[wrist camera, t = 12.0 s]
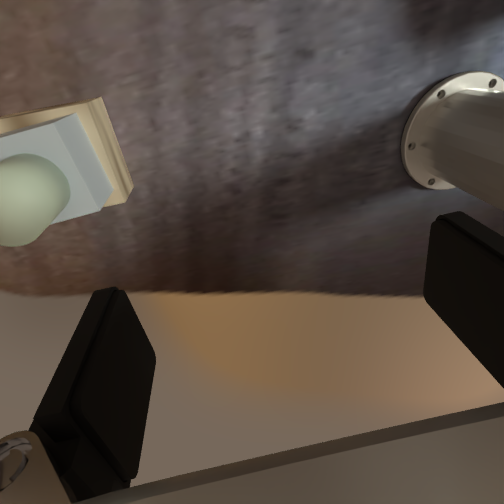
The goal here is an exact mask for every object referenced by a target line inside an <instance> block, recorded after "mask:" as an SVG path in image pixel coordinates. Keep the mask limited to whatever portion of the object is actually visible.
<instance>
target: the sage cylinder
mask: <svg viewBox="0 0 504 504" xmlns="http://www.w3.org/2000/svg"><path fill="white" fill-rule="evenodd" d="M69 200H70V186H69V183H68V180H67V178H66V176H65V175H64V173H63V172H62V171H61V170H60V169H59V168H58V167H57V166H56V165H55V164H54V163H52V162H51V161H49V160H48V159H46V158H44V157H41V156H38V155H35V154H29V153H21V154H16V155H13V156H10V157H8V158H6V159H4V160H3V161H1V162H0V245H2V246H9V247H16V246H22V245H26V244H29V243H31V242H33V241H34V240H35V239H37V238H38V236H39V235H40V234H41V233H42V232H43V231H44V230H45V229H46V228H47V227H48V226H49V224H50V223H51V222H52V221H53V220H54V219H55V218H56V217H57V216H58V215H59V214H60V212H61V211H62V210H63V209H64V208H65V207H66V206H67V204H68V202H69Z"/></svg>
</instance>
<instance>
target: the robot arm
mask: <svg viewBox="0 0 504 504" xmlns="http://www.w3.org/2000/svg"><path fill="white" fill-rule="evenodd" d="M437 94H438V95H437ZM401 158H402V162H403V165H404V168H405V170H406V171H407V173H408V175H409V176H410V177H411V178H412V179H413V180H414V181H416V182H417V183H419V184H421V185H422V186H425V187H427V188H430V189H436V190H447V189H451V188H456V187H458V188H459V189H461V190H463V191H465V192H467V193H469V194H471V195H473V196H475V197H477V198H479V199H481V200H483V201H485V202H487V203H489V204H490V205H492V206H494V207H496V208H498V209H500V210H502V211H504V80H503V79H502V78H501V77H499V76H497V75H495V74H493V73H490V72H483V71H467V72H462V73H458V74H455V75H453V76H451V77H448V78H446V79H445V80H443V81H442V82H440V83H438V84H437V85H435V86H434V87H433V88H432V89H431V90H430V91H429V92H427V93H426V94H425V95H424V97H423V98H422V99H421V100H420V101H419V102H418V104H417V105H416V107H415V108H414V110H413V111H412V113H411V115H410V116H409V119H408V121H407V123H406V125H405V128H404V132H403V136H402V141H401ZM423 294H424V298H425V300H426V302H427V303H428V304H429V306H430V307H431V308H432V309H433V310H434V311H435V312H436V313H437V315H438V316H439V317H440V318H441V319H442V320H443V321H444V322H445V323H446V324H447V326H448V327H449V328H450V329H451V330H452V331H453V332H454V334H455V335H456V336H457V337H458V338H459V339H460V340H461V341H462V342H463V344H464V345H465V346H466V347H467V348H468V349H469V350H470V351H471V352H472V354H473V355H474V356H475V357H476V358H477V359H478V360H479V361H480V363H481V364H482V365H483V366H484V367H485V368H486V369H487V370H488V371H489V372H490V374H491V375H492V376H493V377H494V378H495V379H496V380H497V382H498V383H499V384H500V385H501V386H502V387H503V388H504V237H503V236H501V235H500V234H498V233H496V232H495V231H493V230H491V229H490V228H488V227H486V226H485V225H483V224H481V223H480V222H478V221H476V220H475V219H473V218H472V217H470V216H468V215H467V214H465V213H463V212H461V211H457V212H453V213H448V214H444V215H440V216H438V217H437V219H436V221H434V222H433V223H432V224H431V229H430V238H429V246H428V255H427V263H426V272H425V280H424V289H423ZM155 365H156V356H155V352H154V350H153V348H152V346H151V344H150V342H149V339H148V338H147V335H146V333H145V331H144V329H143V327H142V325H141V323H140V321H139V319H138V317H137V315H136V313H135V311H134V309H133V307H132V305H131V303H130V300H129V299H128V296H127V294H126V293H125V291H124V290H118V288H117V287H110V288H105V289H101V290H96V291H94V293H93V294H92V296H91V298H90V301H89V303H88V305H87V307H86V309H85V311H84V313H83V315H82V317H81V319H80V321H79V324H78V326H77V328H76V330H75V332H74V334H73V336H72V338H71V340H70V342H69V344H68V346H67V349H66V351H65V353H64V355H63V357H62V359H61V361H60V363H59V365H58V368H57V369H56V372H55V374H54V376H53V378H52V380H51V382H50V384H49V386H48V388H47V391H46V393H45V395H44V397H43V399H42V401H41V403H40V405H39V407H38V409H37V411H36V413H35V416H34V418H33V419H34V420H33V422H32V424H31V426H30V428H29V430H28V431H27V430H25V431H18V432H14V433H12V434H10V435H7V436H5V437H3V438H1V439H0V504H504V402H502V403H498V404H493V405H489V406H484V407H480V408H475V409H470V410H466V411H461V412H457V413H452V414H448V415H443V416H438V417H434V418H429V419H425V420H420V421H416V422H411V423H407V424H403V425H398V426H393V427H389V428H385V429H380V430H375V431H371V432H367V433H362V434H358V435H353V436H349V437H344V438H340V439H336V440H331V441H327V442H322V443H318V444H313V445H309V446H305V447H300V448H295V449H291V450H287V451H282V452H278V453H274V454H269V455H265V456H260V457H256V458H252V459H247V460H243V461H239V462H234V463H230V464H226V465H221V466H217V467H213V468H208V469H204V470H200V471H196V472H191V473H187V474H182V475H178V476H174V477H170V478H166V479H162V480H158V481H154V482H150V483H146V484H142V485H138V486H134V487H130V482H131V479H134V478H135V477H136V475H137V473H138V468H139V461H140V456H141V450H142V444H143V438H144V431H145V426H146V419H147V413H148V407H149V401H150V395H151V389H152V383H153V377H154V371H155Z"/></svg>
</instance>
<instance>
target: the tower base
mask: <svg viewBox="0 0 504 504" xmlns="http://www.w3.org/2000/svg"><path fill="white" fill-rule="evenodd" d="M73 113H77V115H78V117H79V119H80V121H81V123H82V125H83V127H84V129H85V131H86V133H87V135H88V137H89V140H90V142H91V144H92V146H93V148H94V150H95V152H96V154H97V156H98V158H99V160H100V162H101V164H102V166H103V168H104V170H105V172H106V174H107V176H108V178H109V180H110V183H111V185H112V187H113V189H114V190H113V192H112V193H111V195H110V196H109V198H108V199H107V201H106V202H105V204H104V206H103V207H105V206H110V205H115V204H121V203H125V202H126V200H127V198H128V196H129V195H130V193H131V191H132V189H133V187H134V185H133V182H132V179H131V177H130V174H129V171H128V169H127V166H126V163H125V160H124V158H123V155H122V152H121V149H120V147H119V144H118V141H117V138H116V136H115V133H114V130H113V127H112V125H111V122H110V119H109V116H108V114H107V111H106V108H105V105H104V103H103V100H102V97H98V98H93V99H87V100H82V101H77V102H72V103H66V104H61V105H56V106H50V107H45V108H40V109H35V110H29V111H24V112H19V113H13V114H8V115H4V116H1V117H0V134H2V133H5V132H9V131H13V130H16V129H20V128H23V127H27V126H30V125H34V124H37V123H41V122H45V121H48V120H52V119H55V118H59V117H62V116H66V115H69V114H73Z"/></svg>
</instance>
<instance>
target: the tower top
mask: <svg viewBox="0 0 504 504" xmlns="http://www.w3.org/2000/svg"><path fill="white" fill-rule="evenodd" d="M21 153H29V154H35V155H38V156H41V157H44V158H46V159H48V160H49V161H51V162H52V163H54V164H55V165H56V166H57V167H58V168H59V169H60V170H61V171H62V172H63V173H64V175H65V176H66V178H67V180H68V183H69V186H70V200H69V202H68V204H67V206H66V207H65V208H64V209H63V210H62V211H61V212H60V214H59V215H58V216H57V217H56V218H55V219H54V220H53V221H52V222H51V223H50V224H54V223H58V222H61V221H65V220H68V219H72V218H76V217H79V216H83V215H86V214H90V213H94V212H97V211H100V210H101V209H102V207H103V206H104V204H105V202H106V201H107V199H108V198H109V196H110V195H111V193H112V192H113V190H114V189H113V187H112V185H111V183H110V180H109V178H108V176H107V174H106V172H105V170H104V168H103V166H102V164H101V162H100V160H99V158H98V156H97V154H96V152H95V150H94V148H93V146H92V144H91V142H90V140H89V137H88V135H87V133H86V131H85V129H84V127H83V125H82V123H81V121H80V119H79V117H78V115H77V113H73V114H69V115H66V116H62V117H59V118H55V119H52V120H48V121H45V122H41V123H37V124H34V125H30V126H27V127H23V128H20V129H16V130H13V131H9V132H5V133H2V134H0V162H1V161H3V160H4V159H6V158H8V157H10V156H13V155H16V154H21ZM50 224H49V225H50Z"/></svg>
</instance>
